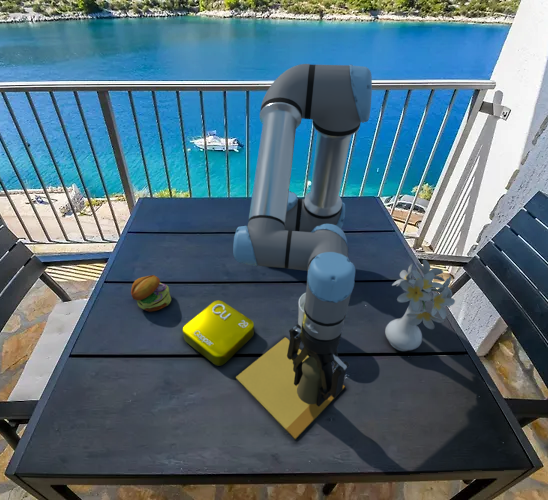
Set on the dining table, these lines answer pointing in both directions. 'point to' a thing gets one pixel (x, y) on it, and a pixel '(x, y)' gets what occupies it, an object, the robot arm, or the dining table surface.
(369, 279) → the dining table surface
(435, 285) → the flower vase
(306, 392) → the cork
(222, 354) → the element tile
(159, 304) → the cheeseburger
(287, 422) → the towel
